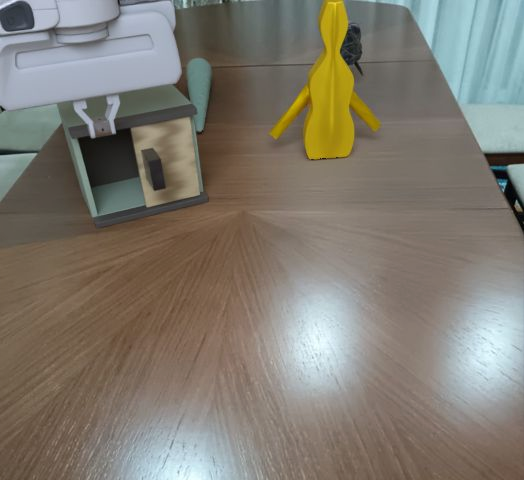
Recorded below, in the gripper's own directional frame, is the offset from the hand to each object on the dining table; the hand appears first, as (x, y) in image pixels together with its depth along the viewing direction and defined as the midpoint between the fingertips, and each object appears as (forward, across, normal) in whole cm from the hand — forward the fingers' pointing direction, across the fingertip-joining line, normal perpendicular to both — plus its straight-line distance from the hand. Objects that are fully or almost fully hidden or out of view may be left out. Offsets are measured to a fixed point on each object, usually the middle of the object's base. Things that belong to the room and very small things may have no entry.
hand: (102, 134), depth 67 cm
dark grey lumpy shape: (+13, -51, -36) cm, 64 cm away
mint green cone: (+13, -24, -40) cm, 49 cm away
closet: (+13, -5, -10) cm, 17 cm away
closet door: (+12, -8, -2) cm, 15 cm away
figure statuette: (+13, -35, -9) cm, 38 cm away
